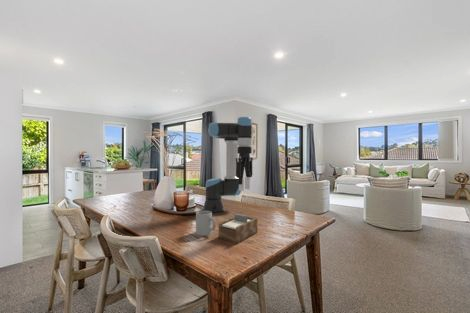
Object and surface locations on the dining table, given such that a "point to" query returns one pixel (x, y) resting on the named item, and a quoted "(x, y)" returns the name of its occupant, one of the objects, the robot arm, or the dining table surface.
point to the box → (238, 230)
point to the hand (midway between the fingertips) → (244, 189)
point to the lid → (236, 221)
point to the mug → (204, 223)
